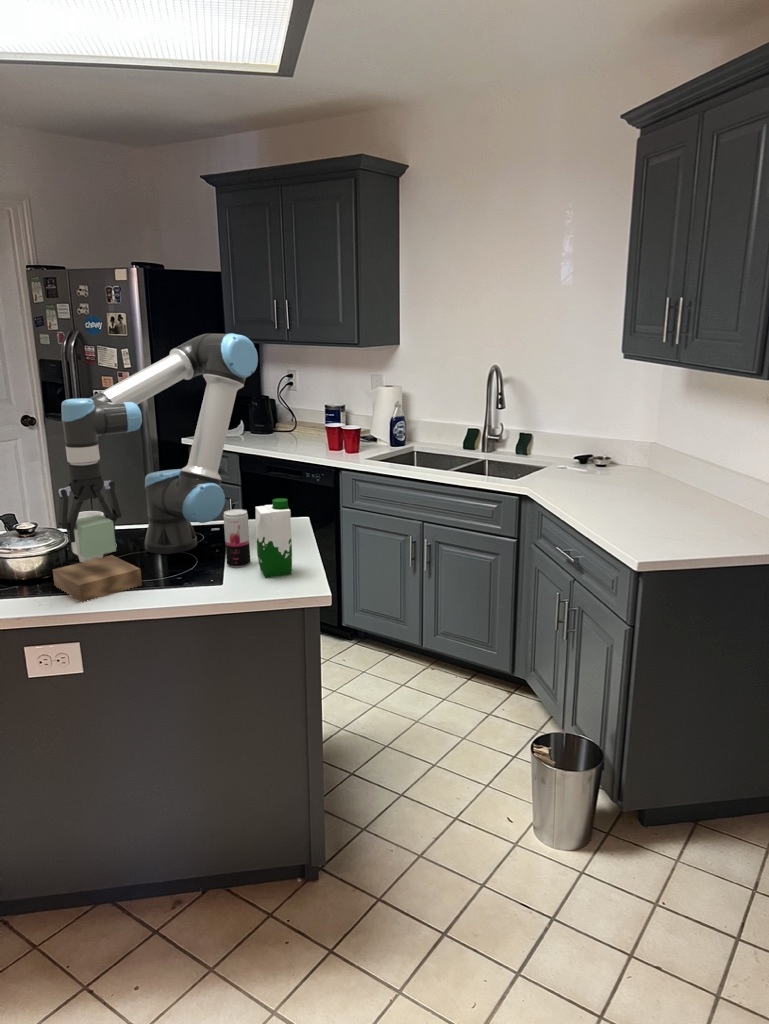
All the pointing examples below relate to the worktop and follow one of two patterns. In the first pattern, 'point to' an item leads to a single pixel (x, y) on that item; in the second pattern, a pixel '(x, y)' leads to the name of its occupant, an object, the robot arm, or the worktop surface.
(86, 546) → the sage cube
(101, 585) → the walnut block
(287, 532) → the milk carton
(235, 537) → the beverage can
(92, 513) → the foam cup
